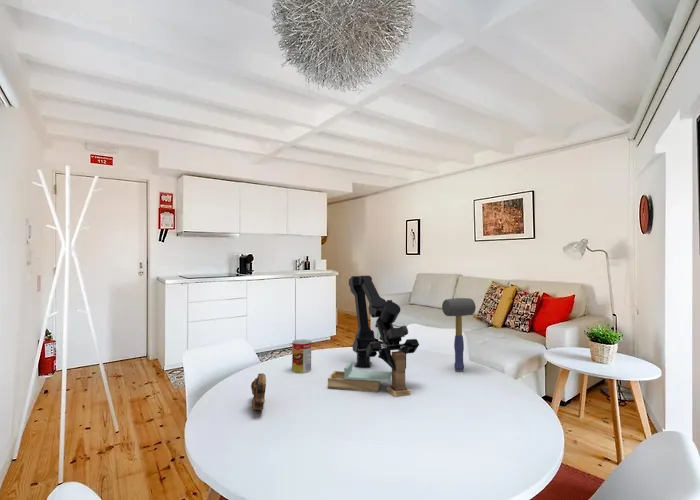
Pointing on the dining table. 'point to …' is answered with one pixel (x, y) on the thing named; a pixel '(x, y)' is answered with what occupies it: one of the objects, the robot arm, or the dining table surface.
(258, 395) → the wooden carving
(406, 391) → the frame
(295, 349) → the canned food
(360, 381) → the wooden tray
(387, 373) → the lid
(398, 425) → the dining table surface
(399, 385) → the brown block
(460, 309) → the rubber mallet
